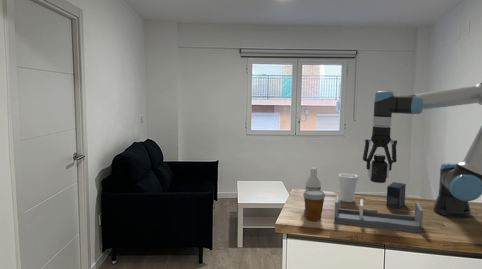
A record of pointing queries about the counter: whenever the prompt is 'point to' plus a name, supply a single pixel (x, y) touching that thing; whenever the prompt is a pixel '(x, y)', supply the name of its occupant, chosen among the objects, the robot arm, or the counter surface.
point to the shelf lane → (380, 219)
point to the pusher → (365, 210)
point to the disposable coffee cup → (313, 204)
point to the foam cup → (347, 186)
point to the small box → (396, 195)
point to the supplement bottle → (379, 169)
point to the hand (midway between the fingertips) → (378, 176)
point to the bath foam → (313, 181)
